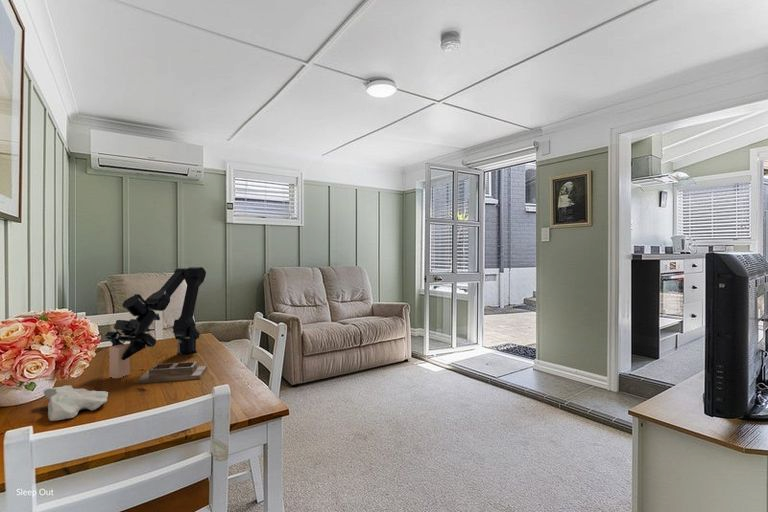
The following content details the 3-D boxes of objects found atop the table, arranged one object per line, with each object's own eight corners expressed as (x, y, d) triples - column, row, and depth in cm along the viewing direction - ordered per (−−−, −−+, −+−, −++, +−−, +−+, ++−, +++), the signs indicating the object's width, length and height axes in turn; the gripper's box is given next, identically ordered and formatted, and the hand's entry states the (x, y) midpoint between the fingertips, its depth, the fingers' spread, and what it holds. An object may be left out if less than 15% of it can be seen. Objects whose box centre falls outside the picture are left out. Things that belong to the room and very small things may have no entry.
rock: (104, 391, 122) (42, 399, 112) (105, 377, 122) (44, 383, 112) (110, 418, 106) (38, 429, 96) (112, 402, 106) (41, 411, 96)
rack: (149, 372, 140) (149, 363, 140) (206, 368, 145) (206, 359, 145) (136, 383, 129) (136, 372, 129) (200, 378, 134) (200, 368, 134)
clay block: (120, 373, 139) (120, 344, 139) (129, 374, 138) (129, 345, 138) (109, 377, 135) (109, 347, 135) (118, 378, 134) (118, 348, 134)
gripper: (109, 310, 143) (79, 345, 132) (149, 311, 138) (122, 348, 128) (127, 326, 150) (101, 361, 140) (166, 328, 146) (142, 365, 135)
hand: (116, 359), depth 135 cm, fingers open, 5 cm apart
